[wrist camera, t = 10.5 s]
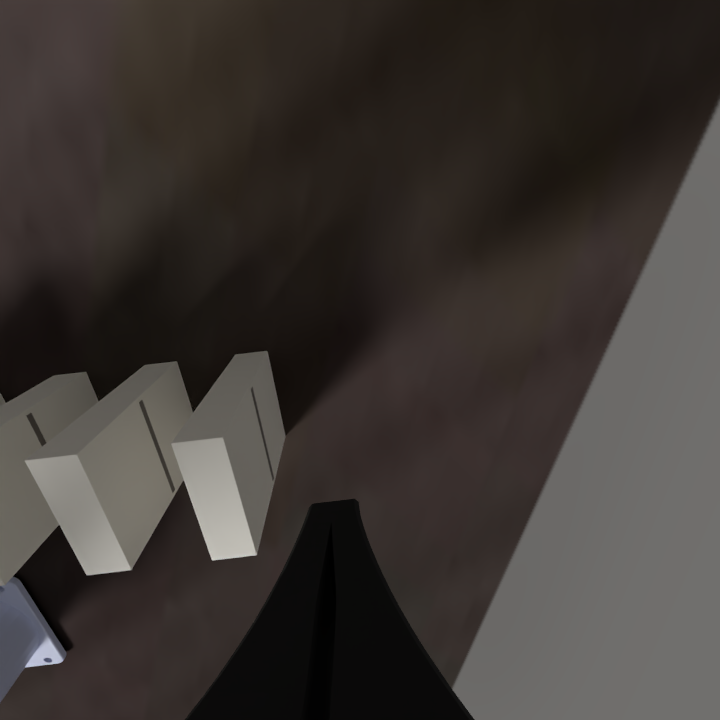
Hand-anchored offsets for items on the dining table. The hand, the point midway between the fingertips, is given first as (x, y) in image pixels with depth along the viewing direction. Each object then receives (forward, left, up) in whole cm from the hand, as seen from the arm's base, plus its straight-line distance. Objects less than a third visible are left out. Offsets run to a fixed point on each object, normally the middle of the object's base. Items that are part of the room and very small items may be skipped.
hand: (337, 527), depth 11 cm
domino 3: (-4, 0, -9) cm, 10 cm away
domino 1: (-13, 0, -9) cm, 16 cm away
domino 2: (-9, 0, -9) cm, 13 cm away
